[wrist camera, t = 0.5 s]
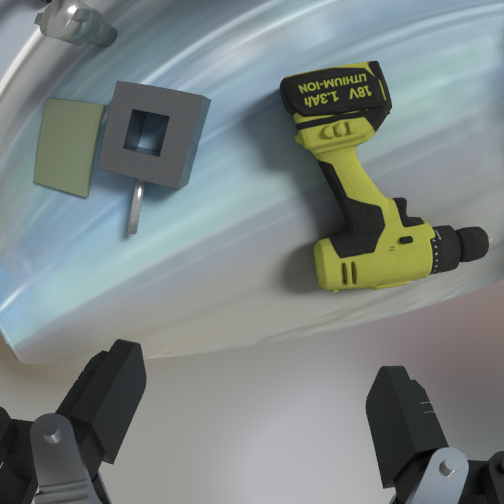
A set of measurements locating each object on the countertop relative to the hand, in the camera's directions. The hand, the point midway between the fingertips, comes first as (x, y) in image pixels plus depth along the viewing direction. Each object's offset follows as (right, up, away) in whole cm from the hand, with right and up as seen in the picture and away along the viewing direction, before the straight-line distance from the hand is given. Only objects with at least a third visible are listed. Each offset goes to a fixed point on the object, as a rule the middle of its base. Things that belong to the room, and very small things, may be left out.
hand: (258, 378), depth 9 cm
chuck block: (-12, +15, +25) cm, 31 cm away
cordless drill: (+17, +13, +24) cm, 32 cm away
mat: (-25, +18, +24) cm, 39 cm away
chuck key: (-18, +31, +19) cm, 40 cm away
